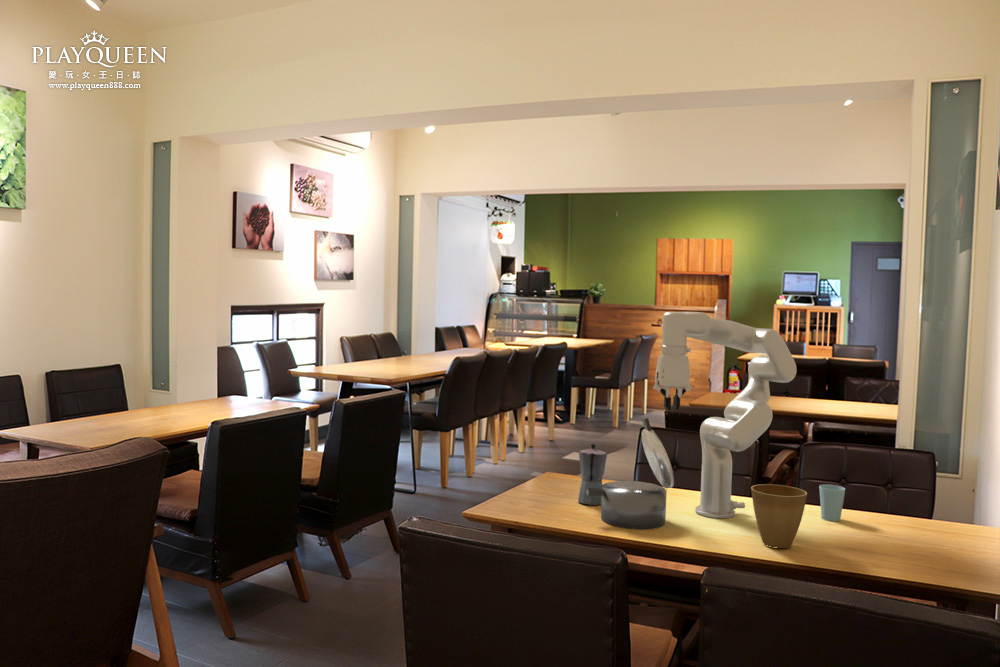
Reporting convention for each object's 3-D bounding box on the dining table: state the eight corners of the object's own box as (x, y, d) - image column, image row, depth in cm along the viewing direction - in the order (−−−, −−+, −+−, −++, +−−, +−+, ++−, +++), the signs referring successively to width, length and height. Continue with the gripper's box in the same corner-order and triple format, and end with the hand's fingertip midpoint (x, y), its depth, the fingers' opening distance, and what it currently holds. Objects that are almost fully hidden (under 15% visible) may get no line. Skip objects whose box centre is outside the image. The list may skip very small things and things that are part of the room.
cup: (830, 523, 231) (831, 490, 231) (812, 516, 238) (813, 485, 238) (849, 521, 233) (850, 489, 233) (831, 515, 241) (832, 483, 240)
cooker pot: (652, 510, 240) (653, 480, 240) (675, 529, 220) (676, 496, 220) (578, 511, 236) (579, 481, 236) (595, 530, 217) (596, 497, 216)
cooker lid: (653, 480, 239) (662, 476, 240) (676, 495, 220) (685, 492, 220) (632, 413, 237) (641, 410, 238) (653, 423, 218) (662, 420, 218)
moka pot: (604, 497, 255) (606, 441, 254) (606, 510, 239) (608, 449, 238) (577, 496, 255) (579, 440, 255) (577, 508, 240) (579, 448, 239)
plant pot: (816, 549, 205) (818, 493, 204) (780, 557, 197) (782, 498, 197) (772, 534, 218) (775, 481, 217) (737, 541, 210) (740, 486, 210)
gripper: (693, 351, 233) (691, 408, 234) (645, 350, 231) (643, 407, 232) (702, 352, 226) (700, 411, 226) (653, 351, 223) (651, 411, 224)
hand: (671, 409), depth 229 cm, fingers closed
